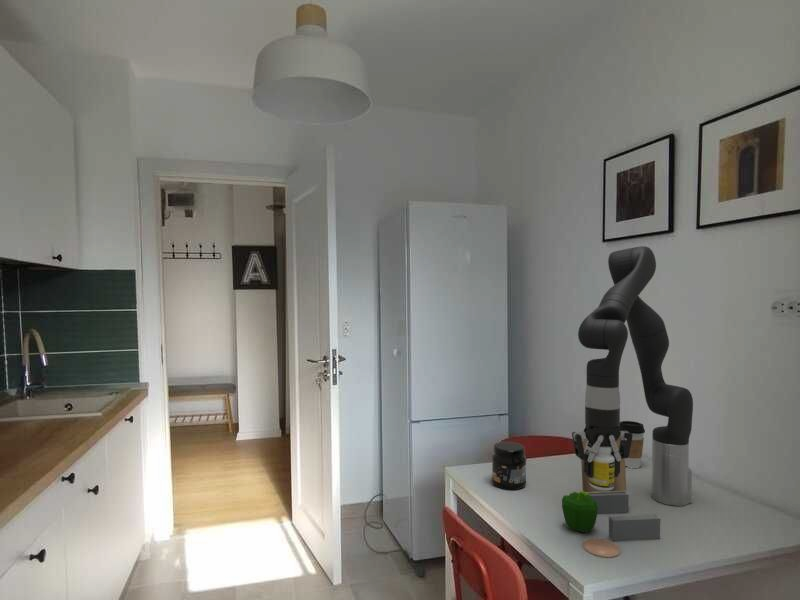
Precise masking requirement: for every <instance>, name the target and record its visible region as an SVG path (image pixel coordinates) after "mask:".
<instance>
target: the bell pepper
mask: <svg viewBox="0 0 800 600" xmlns="http://www.w3.org/2000/svg"><path fill="white" fill-rule="evenodd" d="M588 493H589V492H584V491H583V490H582V491H580V492H579V493H578V492H576V491H574V492H573V491H572V492H571V493H569V495H566V494H565V495H562V499H561V508H562V513H563V518H564V522H565V524H566V526H567V527H568V528H569V529H570V530H571V531H579V532H581V533H590V532H591V531H593V529H594V528H595V525H596V522H597V517H598V514H597V513H598V506H597V504H596V502H595V500H592V498H591V497H590V495H589V494H588Z"/></svg>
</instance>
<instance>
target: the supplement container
mask: <svg viewBox="0 0 800 600" xmlns="http://www.w3.org/2000/svg"><path fill="white" fill-rule="evenodd" d="M525 449H526V448H525V446H524V445H523V444H522V443H519V442H514V441H499V442H496V443H495V444H493V454H492V455H491V460H492V464H491V465H492V467H491V470H492V472H491V474H492V476H491V481H492V483H493V485H495V486H496V487H498V488H501V489H503V490H512V491H513V490H520V489H523V488H524V487H525V486H526V484H527V456H526V455H525V454H526V451H525Z"/></svg>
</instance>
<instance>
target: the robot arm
mask: <svg viewBox="0 0 800 600" xmlns="http://www.w3.org/2000/svg"><path fill="white" fill-rule="evenodd" d="M607 260H608V261H607V263H608V264H607V265H608V270H609V273H610V276H611V279H612V282H613V285H612V287H610V288H608V290H607V291H606V292H605V294H604V295H603V297H602V299H601V301H600V303H599V305H598V307H597V308H595V309H594V310H593V311H592V312H590V313H589V314H588V315H587V316H586V317H585V318H584V319H583V321H582V322H581V323H580V326H579V327H578V333H577V336H578V337H577V338H578V341H579V343H580V345H582V346H583V347H584V348H586V349H592V350H605V351H608V352H607V353H608V354H607V355H606V357H602V358H593V359H590V360H588V362H587V364H586V387H585V394H584V424H585V427H584V429H583V431H580V432H576V431H573V432H571V437H572V442H573V448H574V453H575V456H576V457H577V458H579V459H580V461H581V460H584V473H585V474H586V475H587V476H588V477H589V478H593V462H592V460H593V458H594V455H595V454H596V453H597V451H598V449H599V447H612V451H611V453H610V454H611V455H613V456H614V459H615V471H614V477H618V474H620V461H621V459H623V458H628V457H629V452H630V447H631V442H632V437H633V435H632V434H631V433H629V432H627V431H625V430H624V431H620V429H619V425H620V422H621V417H620V416H621V414H620V413H621V394H620V365H621V360H622V356H623V353H624V350H625V348H626V344H627V342H628V338H629V335H630V339H631V342H632V345H633V349H634V351H635V355H636V358H637V363H638V366H639V371H640V376H641V380H642V381H641V382H642V386H643V392H644V398H645V402H646V406H647V407H648V409H649V410H650V411H651V412H652V413H654V414H656V415H659V416H662V417H666V418H667V419H668V420H667V425H664V426H656V427H654V428H653V429H652V435H651V436H652V439H651V440H652V441H651V442H652V445H651V446H652V454H651V459H652V460H651V498H652V499H653V500H655V501H657V502H658V503H661V504H664V505H668V506H675V507H682V506H686V505H688V504H692V501H693V499H692V497H693V496H692V491H693V490H692V489H693V485H692V484H693V483H692V482H693V470H692V469H691V468H689V464H690V463H689V462H690V460H689V458H690V457H689V452H690V451H689V449H690V448H689V446H690V445H689V444H690V442H689V441H690V435H691V433H692V426H693V425H692V424H693V414H694V413H693V412H694V411H693V409H694V400H693V395H692V393H691V391H690V390H689V389H688V388H686V387H684V386H683V387H682V386H678V385H673V384H667V383H666V382H665V379H664V377H663V376H664V375H663V372H662V366H663V362H664V359H665V358H666V355H667V353H668V351H669V347H670V340H669V335H668V332H667V331H668V330H667V327H666V325H665V322H664V320H663V318H662V317H661V316H660V315H659V313H657V311H656V310H655V309H654V308H652V307H651V306H650V305H648V304H647V303H646V302H645V301H644V300H643V299H642V298H641V297H640V296H639V295H640V294H641V293H642V291H644V289H645V288H646V286H647V285H648V284H649V283H650V281H651V280H652V279H653V277H654V276H655V273H656V269H657V261H656V256H655V254H654V252H653V250H652V249H651V247H649V246H636V247H630V248H625V249H620V250H615V251H612V252H611V253H610V254H609V255H608V259H607ZM625 323H627V326H626V324H625ZM619 437H620V439H621V441H620V446H619V449H618V447H617V444H616V441H617V440H618V438H619ZM584 438H587V440H588V441H587V444H586V446H585V448H586V449H585V452H584V448H583V443H582V442H583V441H584ZM592 446H593V447H592Z"/></svg>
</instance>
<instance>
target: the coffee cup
mask: <svg viewBox="0 0 800 600" xmlns="http://www.w3.org/2000/svg"><path fill="white" fill-rule="evenodd" d="M619 429H620V431H624V430H625V431H627V432H629V433H631V434H632V435H633V437H632V442H631V447H630V452H629V457H628V458H625V466H627V467H632V468H638V467H640V466H642V456H643V449H644V434H645V433H646V430H645V427H644V423H641V422H638V421H633V420H622V421H621V420H620V425H619ZM627 467H626V468H627ZM632 468H631V469H632ZM640 468H641V467H640ZM638 469H639V468H638Z"/></svg>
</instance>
